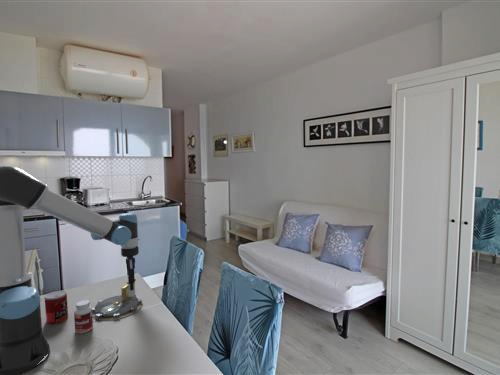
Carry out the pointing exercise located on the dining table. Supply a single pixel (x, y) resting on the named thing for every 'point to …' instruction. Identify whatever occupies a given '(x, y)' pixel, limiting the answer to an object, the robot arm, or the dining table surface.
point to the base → (119, 316)
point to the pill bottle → (83, 317)
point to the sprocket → (116, 305)
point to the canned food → (56, 307)
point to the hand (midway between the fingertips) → (132, 295)
